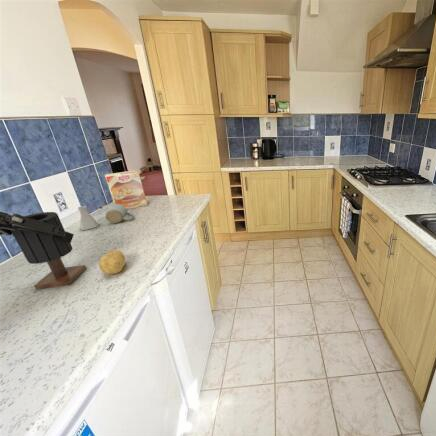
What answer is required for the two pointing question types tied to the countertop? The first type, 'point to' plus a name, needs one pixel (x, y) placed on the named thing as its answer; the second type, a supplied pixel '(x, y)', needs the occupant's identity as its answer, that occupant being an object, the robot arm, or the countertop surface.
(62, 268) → the peg
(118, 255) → the potato
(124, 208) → the ceramic mug
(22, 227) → the robot arm
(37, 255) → the tape roll
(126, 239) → the countertop surface
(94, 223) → the flask
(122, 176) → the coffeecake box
